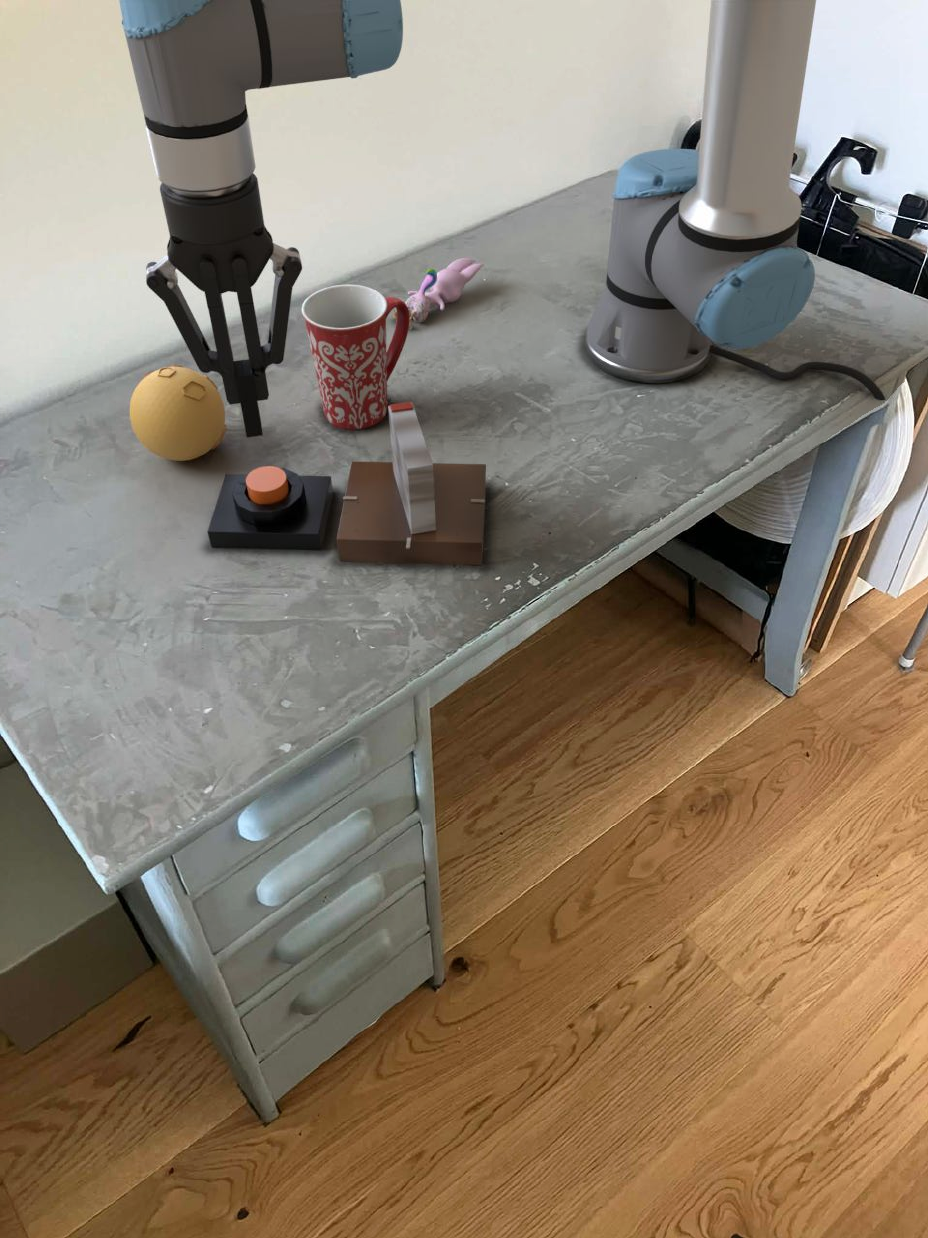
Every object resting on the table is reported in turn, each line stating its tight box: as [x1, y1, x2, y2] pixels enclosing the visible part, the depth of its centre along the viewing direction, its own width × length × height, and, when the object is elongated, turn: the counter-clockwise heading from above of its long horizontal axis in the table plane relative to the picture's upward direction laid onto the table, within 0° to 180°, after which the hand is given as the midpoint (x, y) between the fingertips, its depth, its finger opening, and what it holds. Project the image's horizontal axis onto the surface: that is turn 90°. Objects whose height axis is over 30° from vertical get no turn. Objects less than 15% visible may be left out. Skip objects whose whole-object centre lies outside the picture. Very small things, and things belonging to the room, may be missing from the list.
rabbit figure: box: [392, 257, 485, 330], centre depth 131 cm, size 6×6×15 cm
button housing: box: [207, 467, 334, 551], centre depth 103 cm, size 11×9×4 cm
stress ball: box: [129, 365, 227, 462], centre depth 109 cm, size 10×10×10 cm
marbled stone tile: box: [387, 401, 436, 534], centre depth 99 cm, size 10×2×8 cm, turn 13°
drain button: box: [246, 465, 289, 504], centre depth 101 cm, size 4×4×2 cm
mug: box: [300, 284, 410, 431], centre depth 113 cm, size 13×9×14 cm
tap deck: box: [336, 461, 487, 566], centre depth 103 cm, size 14×14×3 cm
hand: (253, 427), depth 96 cm, fingers closed
